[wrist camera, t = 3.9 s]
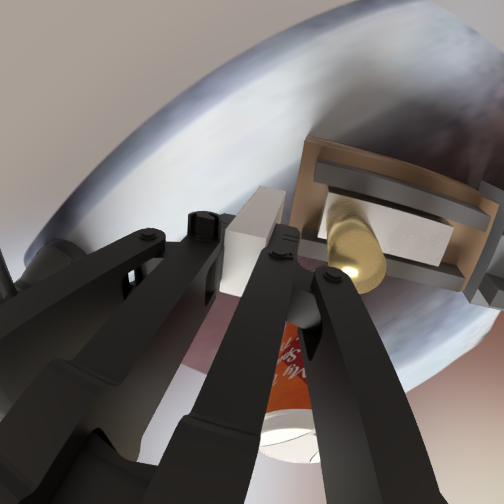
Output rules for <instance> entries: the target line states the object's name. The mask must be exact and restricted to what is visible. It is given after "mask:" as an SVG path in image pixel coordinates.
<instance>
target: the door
mask: <svg viewBox="0 0 504 504" xmlns="http://www.w3.org/2000/svg"><path fill="white" fill-rule="evenodd" d="M327 185H328V186H332V187H337V188H341V189H345V190H349V191H353V192H357V193H361V194H365V195H368V196H372V197H376V198H380V199H383V200H387V201H390V202H394V203H397V204H401V205H404V206H408V207H411V208H414V209H417V210H421V211H424V212H427V213H430V214H433V215H436V216H439V217H442V218H445V219H446V220H447V221H448V222H449V223H450V224H451V225H452V226H453V227H454V229H453V232H452V234H451V237H450V240H449V242H448V245H447V247H446V250H445V252H444V255H443V257H442V259H441V262H440V264H439V266H434V265H430V264H426V263H422V262H418V261H415V260H411V259H407V258H403V257H399V256H395V255H391V254H387V253H383V254H384V257H385V259H386V265H387V267H386V273H385V275H388V276H392V277H396V278H401V279H405V280H410V281H414V282H418V283H423V284H427V285H431V286H436V287H440V288H444V289H448V290H453V291H457V292H460V291H464V289H465V287H466V285H467V283H468V281H469V279H470V277H471V275H472V273H473V271H474V268H475V266H476V264H477V262H478V259H479V257H480V255H481V253H482V250H483V248H484V245H485V243H486V240H487V238H488V235H489V233H490V230H491V227H492V225H493V222H494V219H495V216H496V213H497V210H498V207H499V204H498V203H496V202H495V201H493V200H492V199H490V198H489V197H487V196H485V195H484V194H482V193H481V192H479V191H477V190H476V189H474V188H472V187H471V186H469V185H467V184H465V183H462V182H460V181H457V180H455V179H452V178H450V177H447V176H445V175H442V174H439V173H437V172H434V171H431V170H428V169H425V168H423V167H420V166H417V165H414V164H411V163H408V162H405V161H402V160H398V159H395V158H392V157H389V156H385V155H382V154H379V153H375V152H372V151H368V150H364V149H361V148H357V147H353V146H349V145H345V144H341V143H337V142H332V141H328V140H324V139H319V138H314V137H310V136H307V137H306V139H305V141H304V147H303V153H302V158H301V163H300V169H299V174H298V179H297V185H296V190H295V195H294V200H293V205H292V210H291V215H290V220H289V225H288V226H292V227H296V228H298V230H299V231H300V240H299V246H298V252H297V255H299V256H303V257H308V258H312V259H317V260H321V261H326V262H328V251H327V239H323V238H319V237H318V224H319V219H320V215H321V211H322V207H323V202H324V198H325V194H326V189H327Z"/></svg>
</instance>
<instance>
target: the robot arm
mask: <svg viewBox="0 0 504 504" xmlns="http://www.w3.org/2000/svg"><path fill="white" fill-rule="evenodd" d="M285 196H286V191H283V190H278V189H273V188H268V187H263V186H260V187H259V188H258V189H257V190H256V192H255V193H254V194H253V195H252V197H251V198H250V199H249V200H248V202H247V203H246V204H245V205H244V207H243V208H242V209H241V210H240V212H239V213H238V214H237V216H235V215H230V214H225V213H224V214H221V215H219V214H217V213H213V212H208V211H197V212H192V213H190V214H188V231H187V236H186V237H185V238H184V239H183V240H182V241H181V242H166V235H165V233H164V232H163V231H161V230H158V229H155V228H146V229H141V230H138V231H136V232H133V233H131V234H129V235H127V236H125V237H123V238H121V239H119V240H117V241H115V242H113V243H111V244H109V245H107V246H105V247H103V248H101V249H99V250H97V251H95V252H93V253H91V254H89V255H86V254H85V253H84V252H83V251H82V250H81V249H79V248H78V247H77V246H75V245H74V244H72V243H70V242H68V241H65V240H59V239H58V240H53V241H51V242H49V243H48V244H46V245H45V246H43V247H42V248H41V249H40V250H39V251H38V252H37V254H36V256H35V257H34V259H33V260H32V261H31V263H30V264H29V265H28V267H27V268H26V270H25V271H24V273H23V275H22V276H21V278H20V279H18V281H16V282H15V283H13V281H12V278H11V276H10V273H9V271H8V268H7V266H6V263H5V260H4V258H3V255H2V252H1V249H0V421H1V422H0V504H244V501H245V498H246V494H247V491H248V487H249V484H250V480H251V476H252V473H253V469H254V465H255V461H256V458H257V454H258V450H259V445H260V440H261V430H262V426H263V422H264V418H265V414H266V409H267V405H268V401H269V397H270V392H271V388H272V383H273V379H274V375H275V370H276V365H277V361H278V356H279V351H280V347H281V342H282V337H283V332H284V327H285V322H286V321H288V322H290V323H292V324H294V325H296V326H298V329H297V334H298V339H299V344H300V349H301V354H302V359H303V364H304V370H305V375H306V380H307V386H308V391H309V397H310V402H311V408H312V414H313V420H314V425H315V431H316V437H317V443H318V449H319V455H320V462H321V468H322V474H323V481H324V488H325V494H326V501H327V504H448V503H447V501H446V500H445V499H444V497H443V496H442V494H441V493H440V491H439V488H438V484H437V481H436V478H435V475H434V471H433V468H432V465H431V462H430V459H429V456H428V453H427V451H426V447H425V445H424V442H423V439H422V436H421V433H420V431H419V428H418V426H417V423H416V420H415V418H414V415H413V412H412V410H411V407H410V405H409V403H408V400H407V397H406V395H405V393H404V390H403V388H402V385H401V383H400V381H399V378H398V376H397V374H396V371H395V369H394V367H393V364H392V362H391V360H390V358H389V356H388V353H387V351H386V349H385V347H384V345H383V342H382V340H381V338H380V336H379V334H378V332H377V330H376V328H375V325H374V323H373V321H372V319H371V317H370V315H369V313H368V311H367V309H366V307H365V305H364V303H363V301H362V299H361V297H360V295H359V293H358V291H357V289H356V287H355V286H354V284H353V282H352V280H351V278H350V277H349V276H348V274H347V273H345V272H344V271H342V270H341V269H339V268H338V269H337V268H336V267H330V266H322V267H319V268H317V269H316V270H315V272H314V273H313V272H310V271H308V270H306V269H304V268H303V267H302V266H300V264H299V263H298V262H297V252H298V246H299V240H300V231H299V230H298V228H296V227H292V226H287V225H282V224H280V223H281V217H282V212H283V206H284V201H285ZM132 270H134V275H135V280H134V281H133V282H129V277H128V273H129V272H130V271H132ZM219 283H220V292H223V293H227V294H231V295H235V296H239V297H241V299H240V301H239V303H238V306H237V308H236V310H235V312H234V315H233V317H232V319H231V322H230V324H229V326H228V329H227V331H226V333H225V335H224V338H223V340H222V342H221V345H220V347H219V349H218V352H217V354H216V356H215V358H214V361H213V363H212V365H211V367H210V370H209V372H208V374H207V377H206V379H205V381H204V383H203V386H202V388H201V390H200V393H199V395H198V397H197V399H196V402H195V404H194V406H193V408H192V410H191V412H190V413H189V414H188V415H184V416H183V417H182V419H181V420H180V421H179V423H178V425H177V427H176V429H175V431H174V433H173V435H172V437H171V439H170V441H169V444H168V446H167V448H166V450H165V452H164V454H163V456H162V458H161V461H160V463H159V465H158V466H156V465H150V464H145V463H139V462H136V461H137V459H138V456H139V452H140V445H141V439H142V436H143V434H144V432H145V430H146V428H147V426H148V424H149V422H150V420H151V419H152V417H153V415H154V413H155V411H156V409H157V407H158V405H159V403H160V402H161V400H162V398H163V396H164V394H165V392H166V390H167V388H168V386H169V385H170V383H171V381H172V379H173V377H174V375H175V373H176V371H177V369H178V368H179V366H180V364H181V362H182V360H183V358H184V356H185V354H186V353H187V351H188V349H189V347H190V345H191V343H192V341H193V339H194V338H195V336H196V334H197V332H198V330H199V328H200V326H201V325H202V323H203V321H204V319H205V317H206V315H207V313H208V312H209V310H210V308H211V306H212V304H213V302H214V300H215V299H216V291H217V286H218V284H219Z"/></svg>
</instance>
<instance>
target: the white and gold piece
mask: <svg viewBox="0 0 504 504" xmlns="http://www.w3.org/2000/svg"><path fill="white" fill-rule="evenodd" d="M453 229H454V227H453V226H452V225H451V224H450V223H449V222H448V221H447V220H446V219H445V218H442V217H439V216H436V215H433V214H430V213H427V212H424V211H421V210H417V209H414V208H411V207H408V206H404V205H401V204H397V203H394V202H390V201H387V200H383V199H380V198H376V197H372V196H368V195H365V194H361V193H357V192H353V191H349V190H345V189H341V188H337V187H332V186H328V185H327V189H326V194H325V198H324V202H323V207H322V211H321V215H320V219H319V224H318V237H319V238H323V239H327V251H328V266H330V267H336V268H337V269H338V268H339V269H341V270H342V271H344V272H345V273H347V274H348V276H349V277H350V278H351V280H352V282H353V284H354V286H355V287H356V289H357V291H358V293H359V294H363V293H367V292H369V291H371V290H373V289H374V288H376V287H377V286H378V285H379V284H380V283H381V281H382V280H383V278H384V276H385V273H386V267H387V265H386V259H385V257H384V254H383V253H387V254H391V255H395V256H399V257H403V258H407V259H411V260H415V261H418V262H422V263H426V264H430V265H434V266H439V264H440V262H441V259H442V257H443V255H444V252H445V250H446V247H447V245H448V242H449V240H450V237H451V234H452V232H453Z"/></svg>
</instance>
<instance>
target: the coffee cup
mask: <svg viewBox="0 0 504 504" xmlns="http://www.w3.org/2000/svg"><path fill="white" fill-rule="evenodd" d="M297 329H298V326H296V325H294V324H292V323H290V322H288V323H287V325H286V328H285V332H284V335H283V338H282V342H281V347H280V351H279V356H278V361H277V365H276V370H275V375H274V379H273V383H272V388H271V392H270V397H269V401H268V405H267V409H266V414H265V418H264V422H263V426H262V430H261V440H260V445H259V450H260V451H261V452H262V453H264V454H266V455H267V456H270V457H272V458H275V459H278V460H282V461H286V462H293V463H316V462H320V455H319V449H318V443H317V437H316V431H315V425H314V420H313V414H312V408H311V402H310V397H309V391H308V386H307V380H306V375H305V370H304V364H303V359H302V354H301V349H300V344H299V339H298V334H297Z"/></svg>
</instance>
